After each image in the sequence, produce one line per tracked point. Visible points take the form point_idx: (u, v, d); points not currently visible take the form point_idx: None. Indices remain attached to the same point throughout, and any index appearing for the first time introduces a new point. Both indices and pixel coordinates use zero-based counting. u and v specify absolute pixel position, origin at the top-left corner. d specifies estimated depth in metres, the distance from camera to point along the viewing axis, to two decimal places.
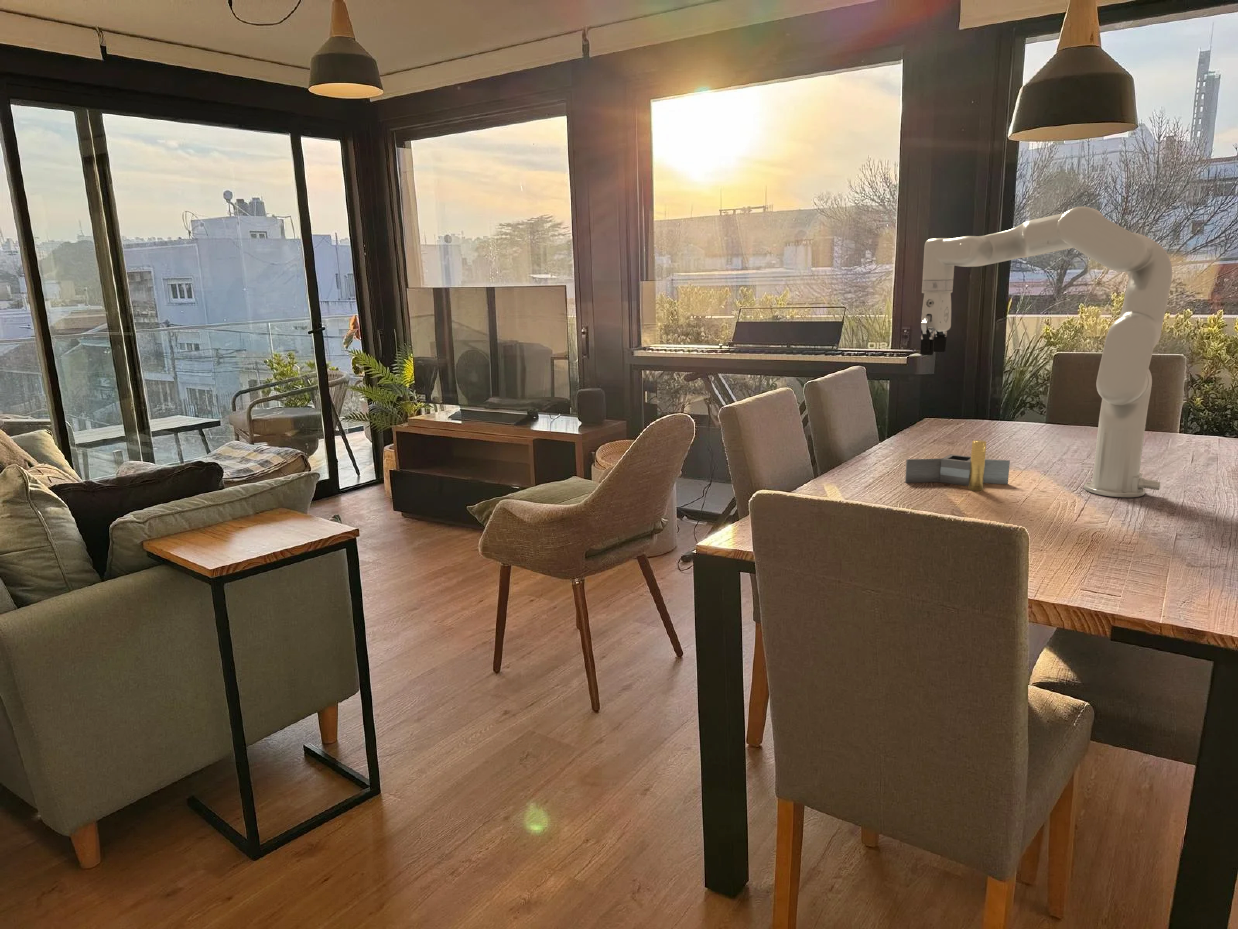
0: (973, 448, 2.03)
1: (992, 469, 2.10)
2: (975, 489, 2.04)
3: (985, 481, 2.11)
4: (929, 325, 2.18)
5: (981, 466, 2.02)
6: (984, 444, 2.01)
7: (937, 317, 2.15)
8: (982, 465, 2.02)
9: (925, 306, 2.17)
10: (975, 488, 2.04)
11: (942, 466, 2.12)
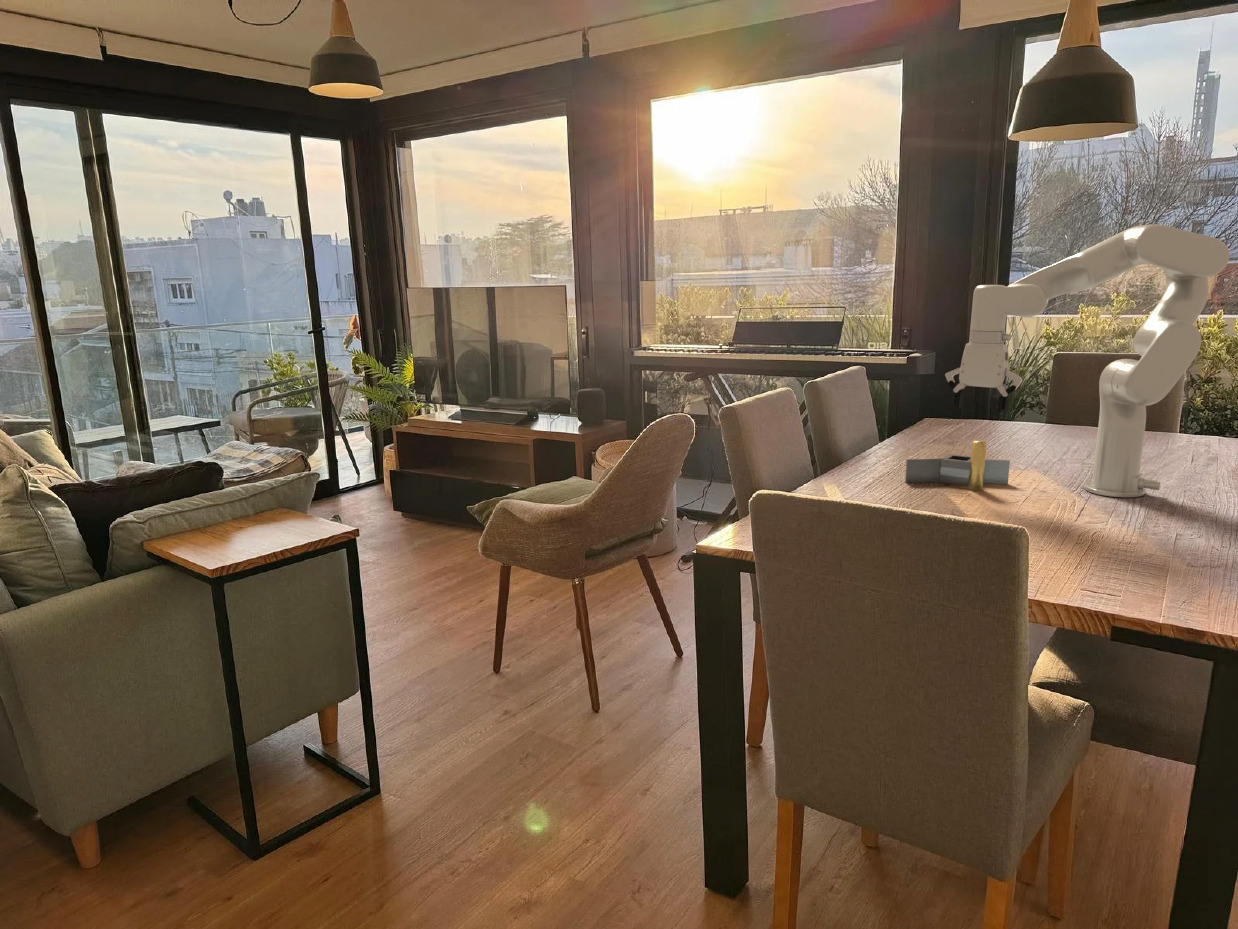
0: (973, 448, 2.03)
1: (992, 469, 2.10)
2: (975, 489, 2.04)
3: (985, 481, 2.11)
4: None
5: (981, 466, 2.02)
6: (984, 444, 2.01)
7: None
8: (982, 465, 2.02)
9: (1003, 360, 1.95)
10: (975, 488, 2.04)
11: (942, 466, 2.12)
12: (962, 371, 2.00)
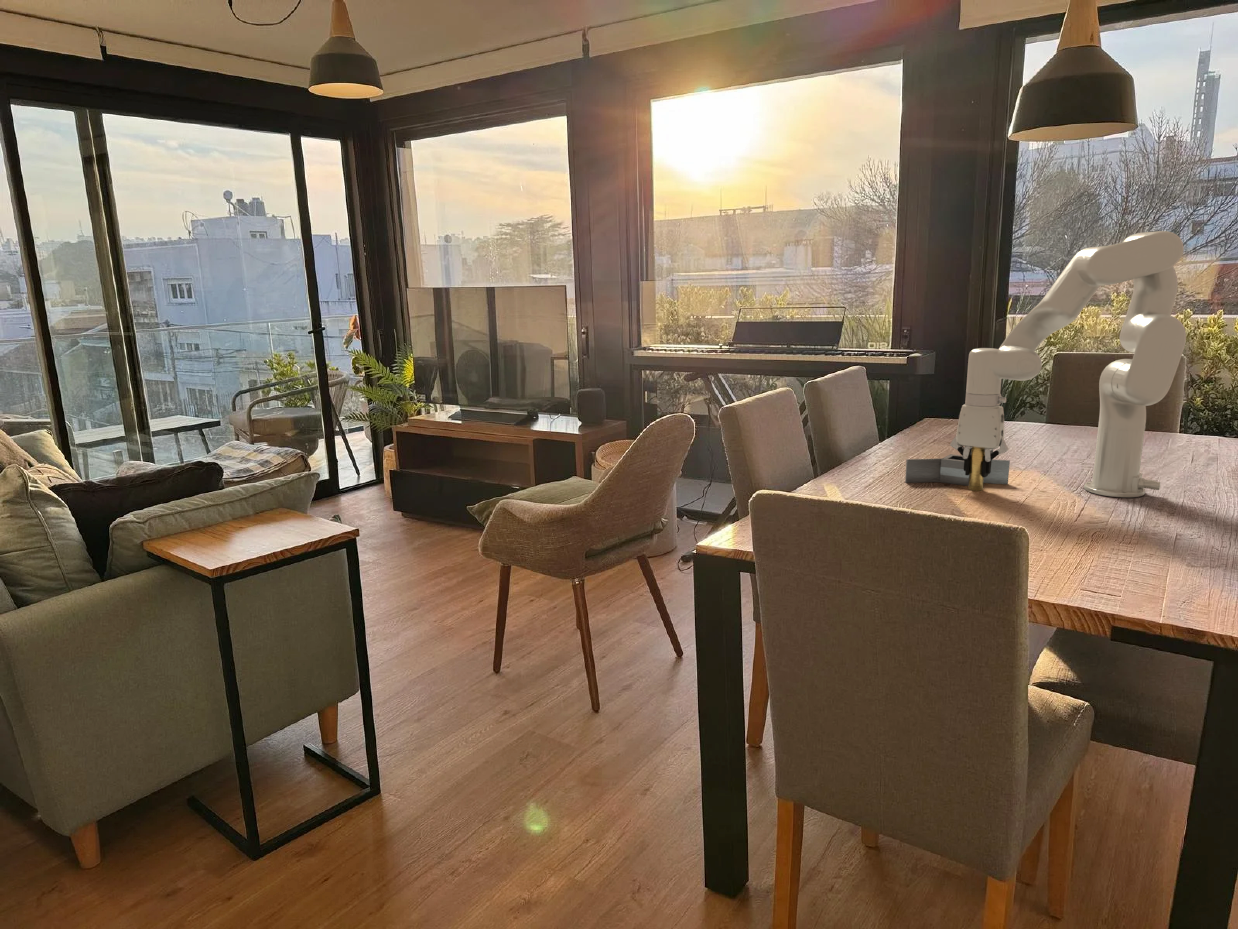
0: (973, 448, 2.03)
1: (992, 469, 2.10)
2: (975, 489, 2.04)
3: (985, 481, 2.11)
4: None
5: (981, 466, 2.02)
6: None
7: None
8: None
9: (999, 422, 1.98)
10: (975, 488, 2.04)
11: (942, 466, 2.12)
12: (959, 432, 2.03)
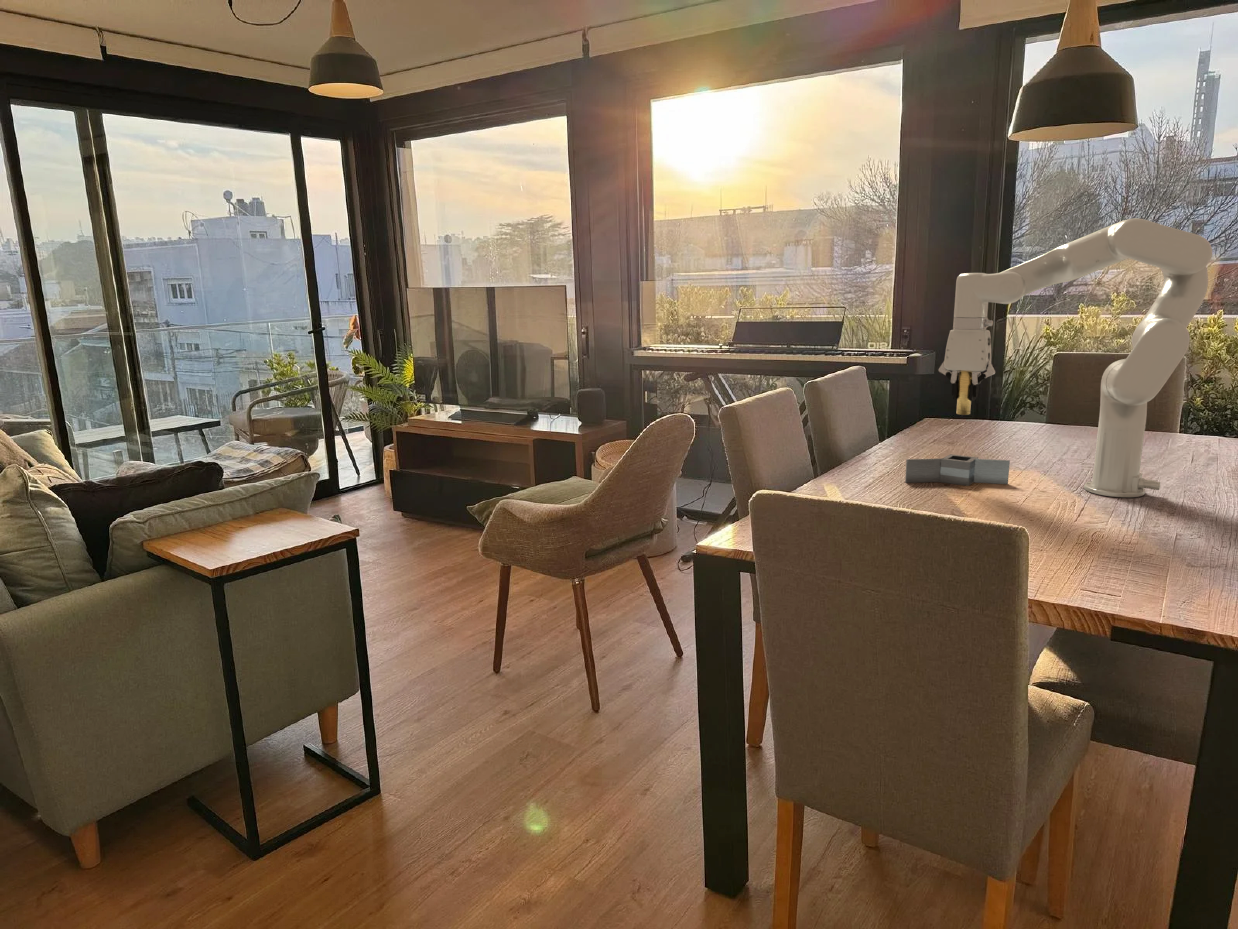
0: (961, 372, 2.07)
1: (992, 469, 2.10)
2: (963, 413, 2.08)
3: (985, 481, 2.11)
4: None
5: (969, 389, 2.07)
6: None
7: None
8: (969, 389, 2.07)
9: (986, 345, 2.02)
10: (963, 412, 2.08)
11: (942, 466, 2.12)
12: (947, 357, 2.07)
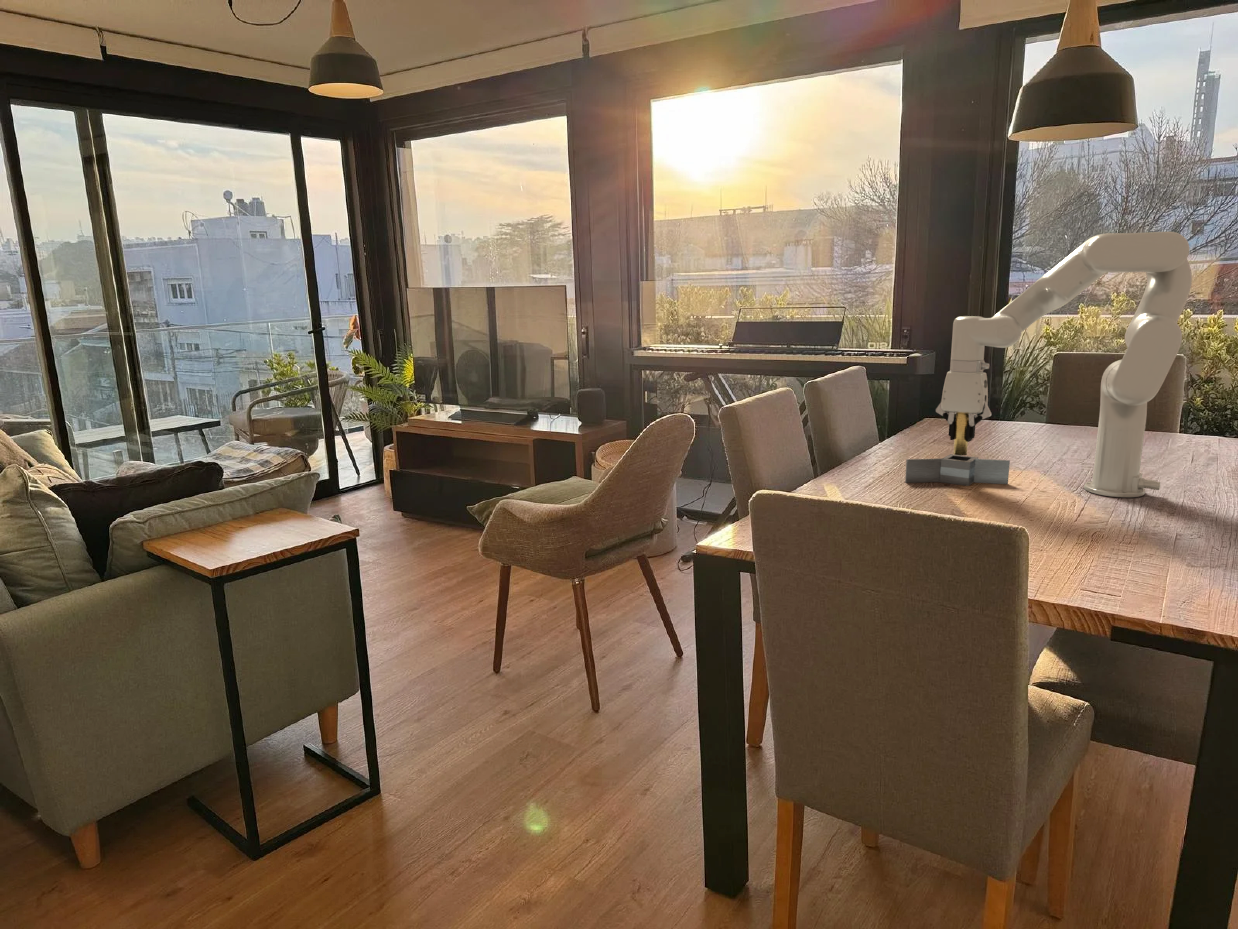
0: (957, 413, 2.09)
1: (992, 469, 2.10)
2: (959, 453, 2.10)
3: (985, 481, 2.11)
4: None
5: (965, 431, 2.09)
6: None
7: (987, 397, 2.07)
8: None
9: (983, 387, 2.05)
10: (959, 452, 2.10)
11: (942, 466, 2.12)
12: (944, 398, 2.10)
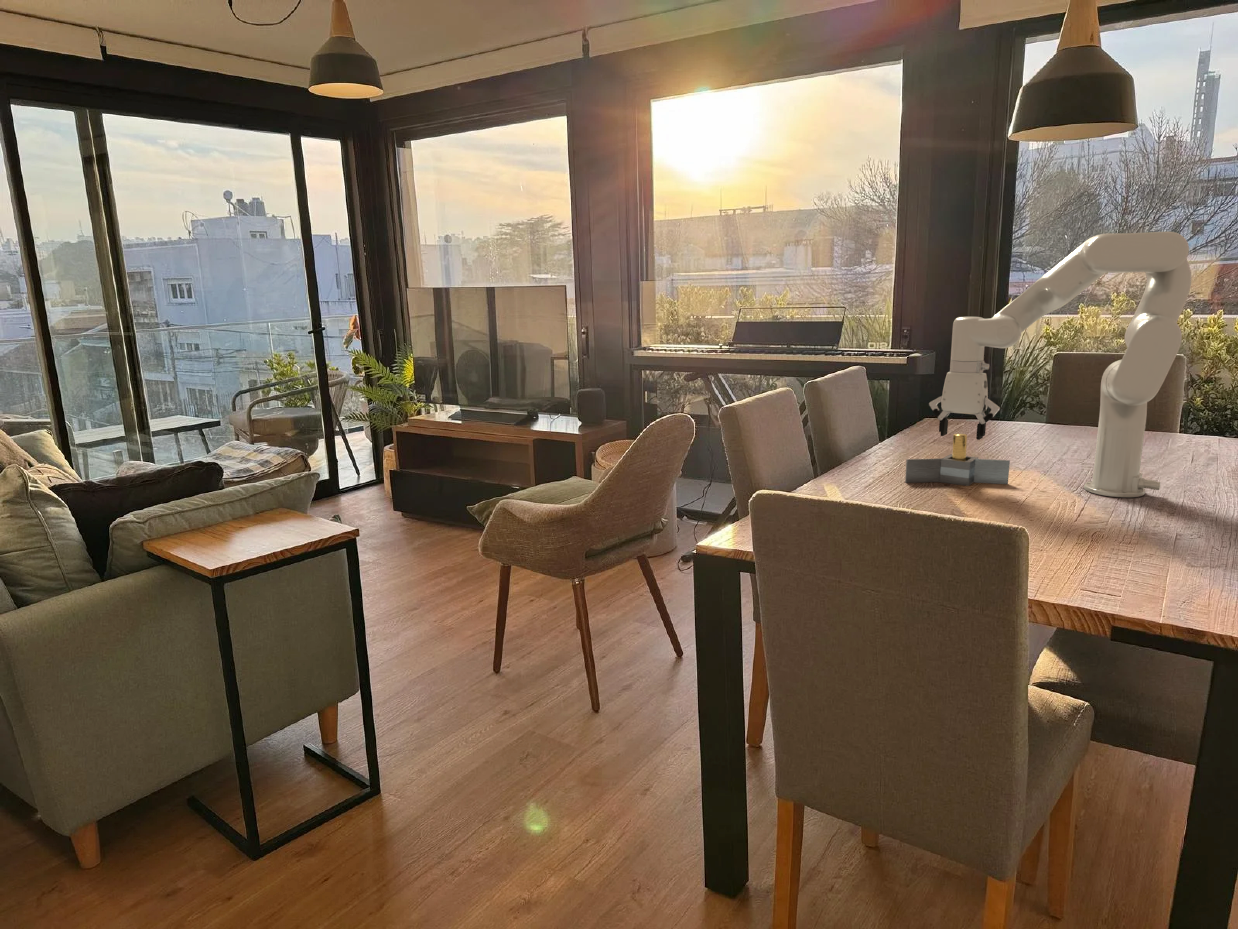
0: (954, 441, 2.11)
1: (992, 469, 2.10)
2: None
3: (985, 481, 2.11)
4: None
5: (963, 458, 2.11)
6: (965, 437, 2.10)
7: (987, 398, 2.07)
8: (963, 457, 2.11)
9: (983, 388, 2.05)
10: None
11: (942, 466, 2.12)
12: (944, 398, 2.10)
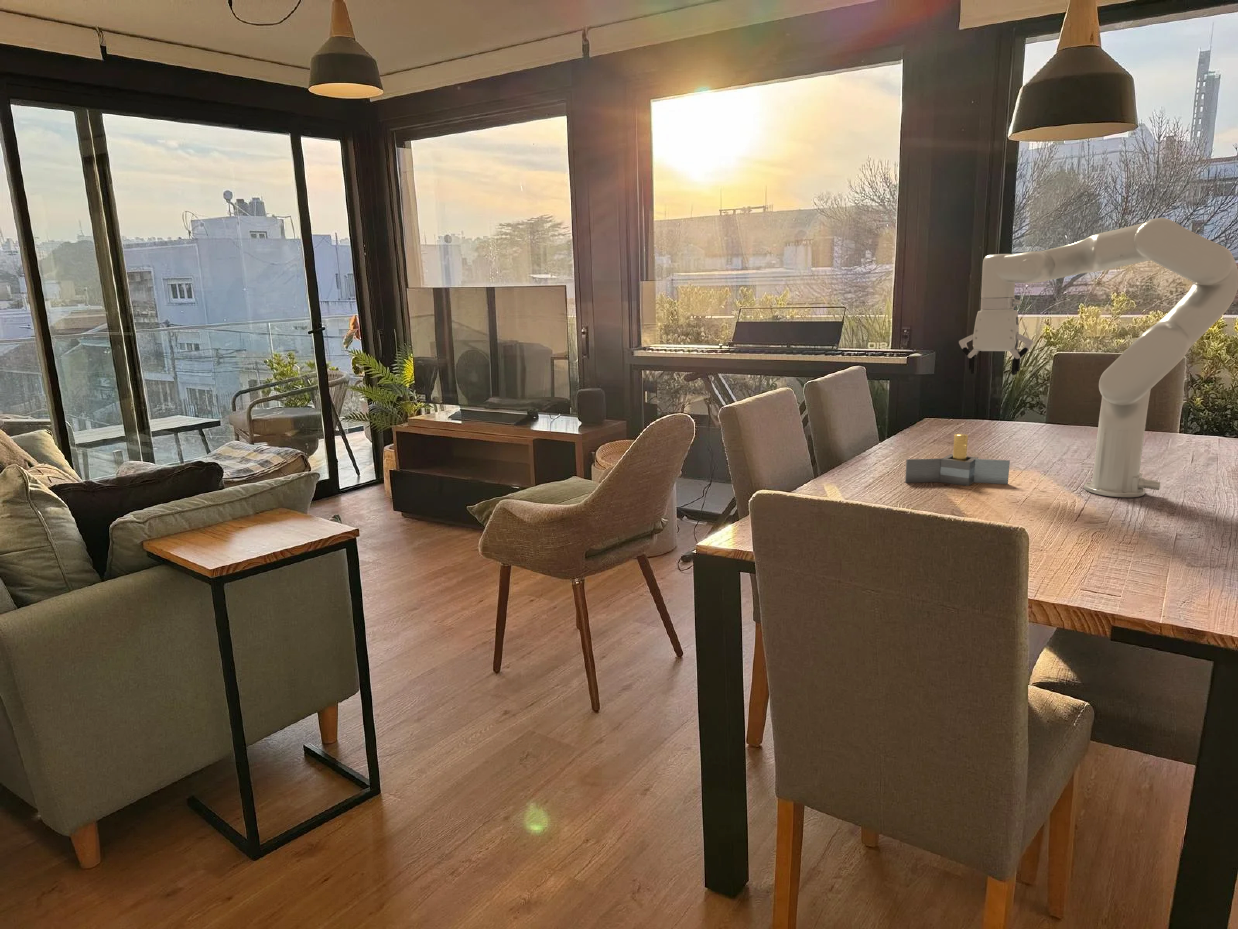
0: (955, 441, 2.11)
1: (992, 469, 2.10)
2: None
3: (985, 481, 2.11)
4: None
5: (963, 458, 2.11)
6: (966, 437, 2.10)
7: None
8: (964, 458, 2.11)
9: (1015, 324, 2.06)
10: None
11: (942, 466, 2.12)
12: (975, 337, 2.11)
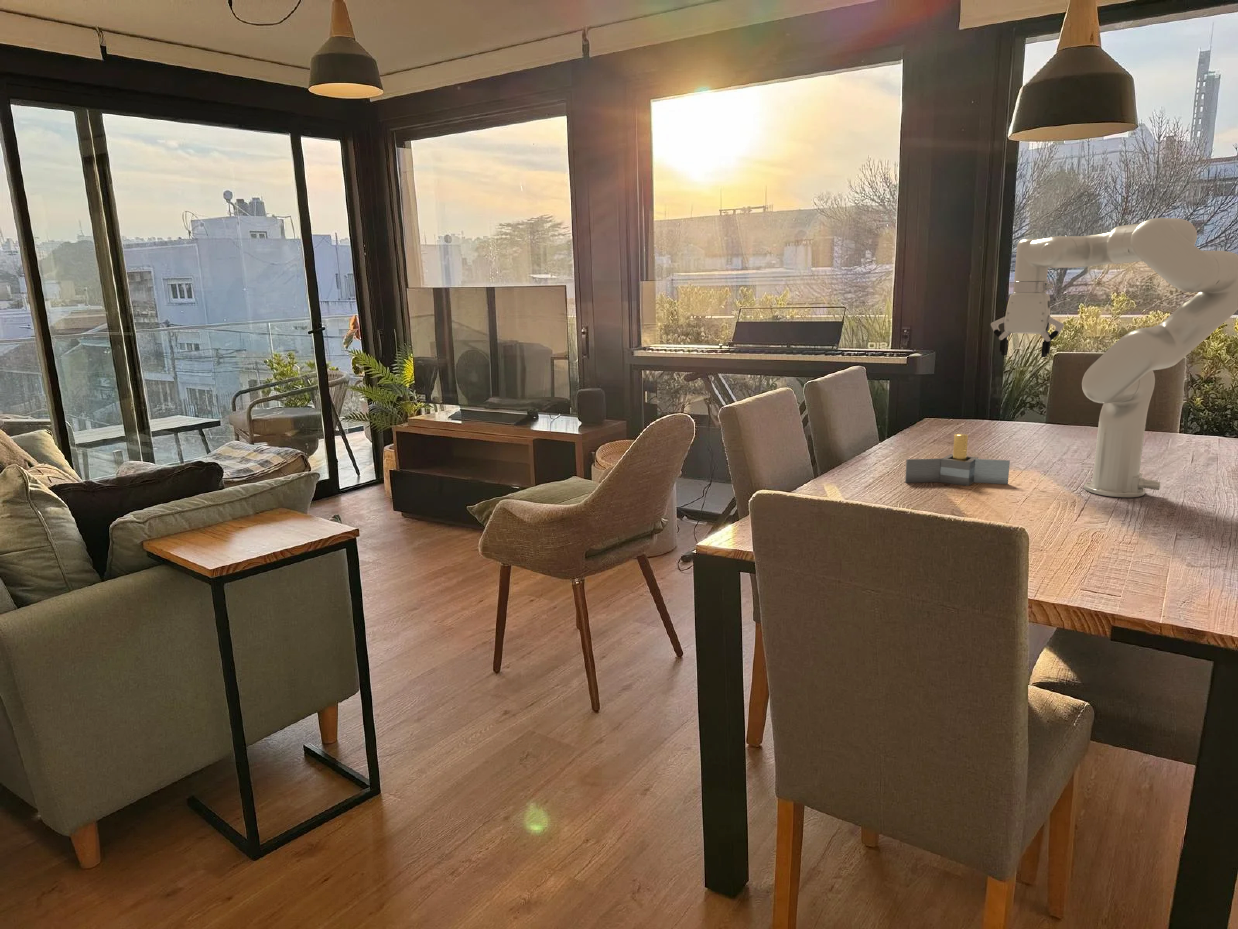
0: (955, 441, 2.11)
1: (992, 469, 2.10)
2: None
3: (985, 481, 2.11)
4: None
5: (963, 458, 2.11)
6: (966, 437, 2.10)
7: None
8: (964, 458, 2.11)
9: (1046, 307, 2.11)
10: None
11: (942, 466, 2.12)
12: (1007, 320, 2.17)
